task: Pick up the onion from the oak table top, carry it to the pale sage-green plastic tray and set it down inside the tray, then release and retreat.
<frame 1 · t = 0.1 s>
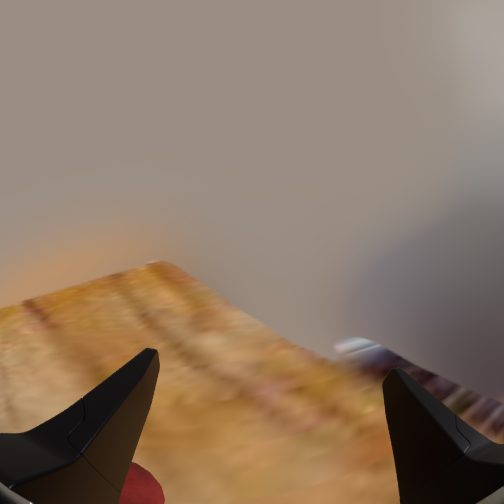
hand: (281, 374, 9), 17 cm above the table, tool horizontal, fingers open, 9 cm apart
onion: (134, 503, 13), on the table
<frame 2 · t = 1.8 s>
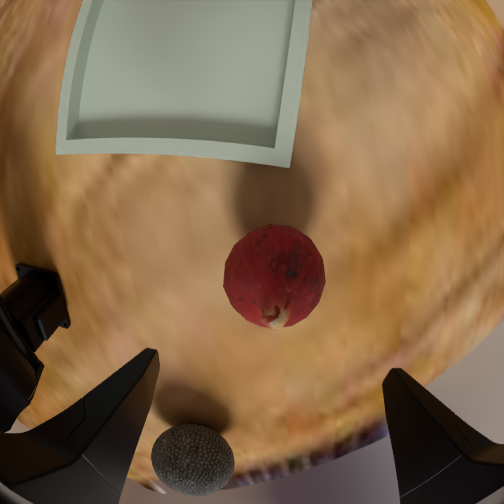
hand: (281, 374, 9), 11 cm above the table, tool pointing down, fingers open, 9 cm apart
onion: (271, 249, 19), on the table
decorative ball: (198, 427, 30), on the table
tray: (180, 40, 13), on the table
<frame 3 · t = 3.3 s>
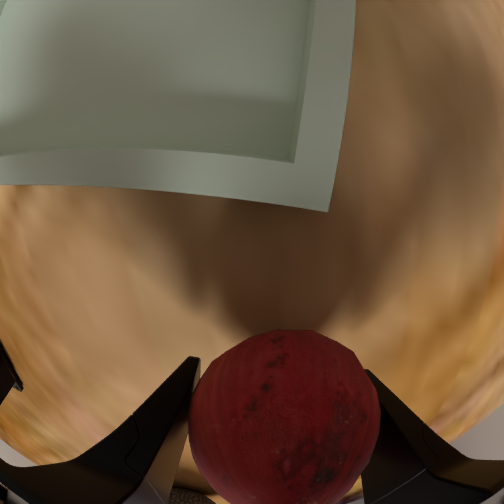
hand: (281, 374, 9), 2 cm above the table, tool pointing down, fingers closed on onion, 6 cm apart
onion: (278, 341, 11), on the table, touching gripper
decorative ball: (187, 489, 21), on the table
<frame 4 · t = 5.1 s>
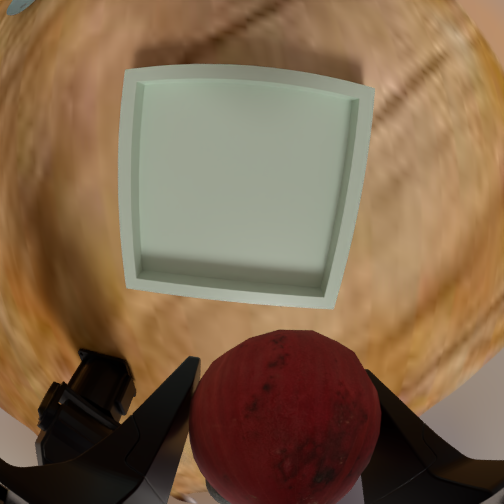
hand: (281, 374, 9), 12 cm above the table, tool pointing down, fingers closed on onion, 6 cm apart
onion: (279, 341, 11), point 10 cm above the table, touching gripper
tray: (237, 185, 18), on the table
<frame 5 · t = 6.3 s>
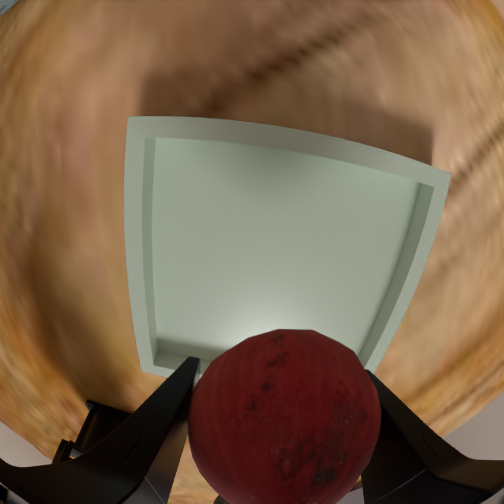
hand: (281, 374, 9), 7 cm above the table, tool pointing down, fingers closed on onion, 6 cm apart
onion: (278, 340, 11), point 5 cm above the table, touching gripper
decorative ball: (245, 485, 32), on the table
tray: (275, 276, 16), on the table
when the fingers open (4 cm above the table, at t = 7.4 s): onion drops 1 cm, resting on tray.
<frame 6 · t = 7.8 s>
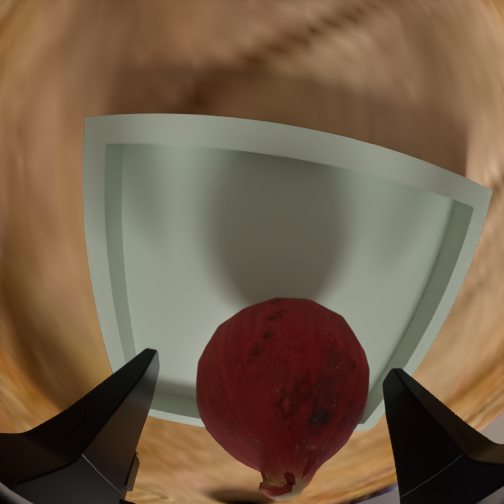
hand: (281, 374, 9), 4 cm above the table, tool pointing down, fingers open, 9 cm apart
onion: (276, 317, 12), resting on tray
decorative ball: (244, 502, 29), on the table
tray: (276, 313, 13), on the table
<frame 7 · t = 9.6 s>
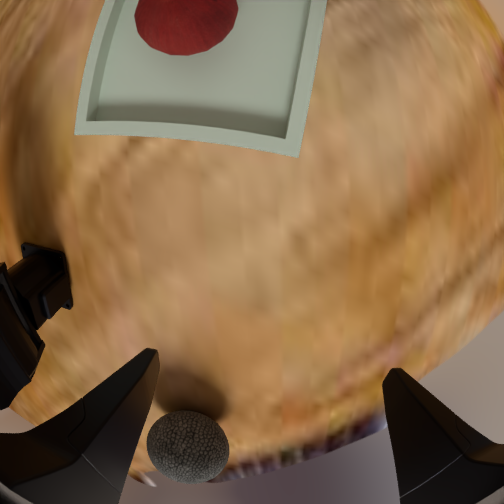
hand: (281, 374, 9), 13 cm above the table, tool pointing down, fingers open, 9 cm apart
onion: (199, 33, 14), resting on tray
decorative ball: (193, 415, 31), on the table
tray: (200, 36, 14), on the table
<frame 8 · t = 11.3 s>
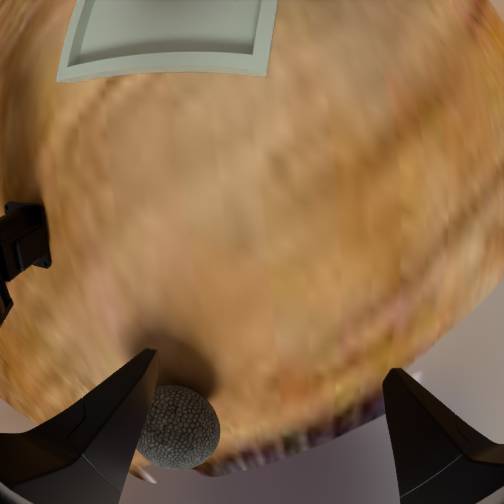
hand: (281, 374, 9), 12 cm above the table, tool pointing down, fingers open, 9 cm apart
decorative ball: (182, 392, 29), on the table
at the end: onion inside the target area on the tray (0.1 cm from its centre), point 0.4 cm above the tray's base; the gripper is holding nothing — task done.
